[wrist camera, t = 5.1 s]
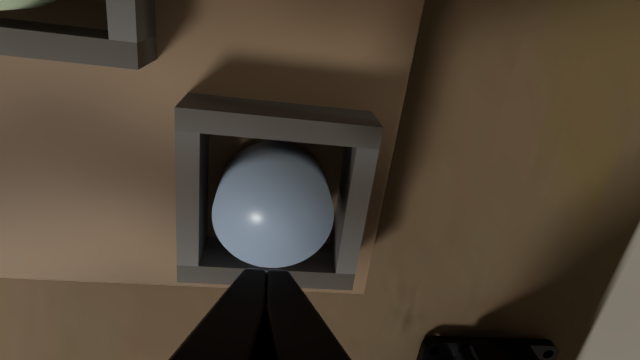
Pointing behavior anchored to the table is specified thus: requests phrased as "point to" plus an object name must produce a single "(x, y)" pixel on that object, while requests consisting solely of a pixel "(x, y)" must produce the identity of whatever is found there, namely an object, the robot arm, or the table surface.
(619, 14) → the table surface
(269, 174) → the slate blue button
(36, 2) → the sage button
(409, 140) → the table surface
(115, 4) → the console
